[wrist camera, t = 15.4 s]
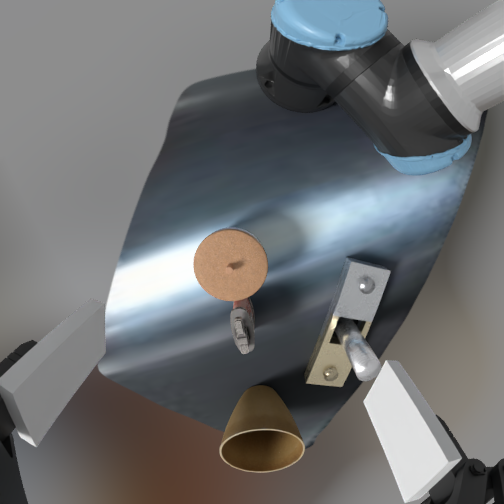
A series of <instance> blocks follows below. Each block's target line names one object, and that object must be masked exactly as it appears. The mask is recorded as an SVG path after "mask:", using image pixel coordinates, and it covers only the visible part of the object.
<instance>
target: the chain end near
mask: <svg viewBox="0 0 504 504" xmlns="http://www.w3.org/2000/svg"><path fill="white" fill-rule="evenodd" d="M390 272H391V271H390V270H389V269H387V268H386V267H384V266H381V265H377V264H373V263H369V262H365V261H361V260H357V259H353V258H349V257H346V258H345V262H344V265H343V268H342V271H341V275H340V278H339V281H338V284H337V287H336V290H335V293H334V296H333V299H332V302H331V305H330V308H329V310H328V313H327V316H326V319H325V322H324V324H323V327H322V330H321V332H320V336H321V338H322V335H323V333H324V330H325V327H326V325H327V322H328V319H329V316H330V314H331V312H332V314H333V316H339V317H345V318H350V319H356V320H359V321H358V324H357V327H358V329H359V328H360V326H361V323H362V321H369V322H372V321H373V318H374V316H375V313H376V310H377V308H378V305H379V303H380V300H381V297H382V295H383V292H384V289H385V286H386V284H387V281H388V278H389V275H390Z"/></svg>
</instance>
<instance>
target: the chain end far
mask: <svg viewBox="0 0 504 504" xmlns="http://www.w3.org/2000/svg"><path fill="white" fill-rule="evenodd" d="M338 319H339V316H333V314H332V312H331V314H330V316H329V319H328V322H327V325H326V327H325V330H324V333H323V335H322V338H321V336H320V335H319V338H318V340H317V343H316V346H315V348H314V351H313V353H312V356H311V358H310V361H309V363H308V366H307V368H306V371H305V373H304V377H305V381H306V383H307V384H316V385H326V386H337V387H342V386H343V384H344V382H345V380H346V378H347V376H348V374H349V372H350V370H351V368H352V365H351V363H350V361H349V359H348V357H347V355H346V353H345V351H344V348H343V346H342V344H341V342H340V340H339V338H338V337H334V336H332V334H333V332H334V329H335V327H336V324H337V321H338ZM371 323H372V322H369V321H362V323H361V326H360V328H359V330H360V332H361V333H362V335H363V336H364V338H365V337H366V335H367V333H368V330H369V328H370V325H371Z"/></svg>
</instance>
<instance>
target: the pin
mask: <svg viewBox="0 0 504 504" xmlns="http://www.w3.org/2000/svg"><path fill="white" fill-rule="evenodd" d="M334 330H335V332H336V334H337V336H338V338H339V340H340V342H341V344H342V346H343V348H344V351H345V353H346V355H347V357H348V359H349V361H350V363H351V365H352V367H353V369H354V371H355V373H356V375H357V378H358V379H359V380H361V381H369V380H372V379H374V378H375V377H376V376H377V375H378V374H379V373H380V371H381V363H380V362H379V360H378V359H377V357H376V355H375V354H374V352H373V351H372V349H371V347H370V346H369V344H368V343H367V341H366V340H365V338H364V336H363V335H362V333H361V332H360V330H359V329H358V327H357V326H356V324H355V323H354V321H353V319H350V318H345V317H339V319H338V321H337V324H336V327H335V329H334Z"/></svg>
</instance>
